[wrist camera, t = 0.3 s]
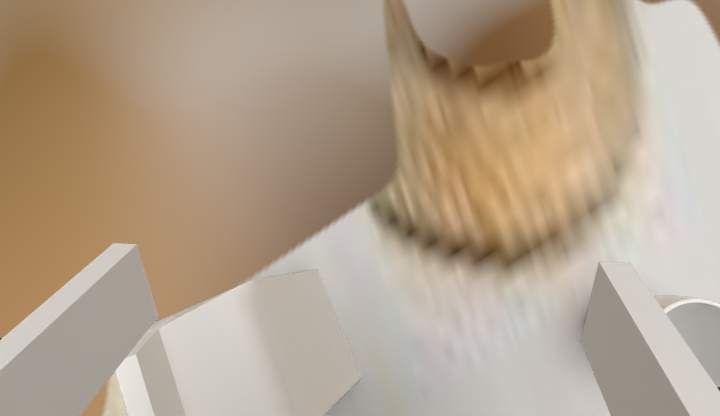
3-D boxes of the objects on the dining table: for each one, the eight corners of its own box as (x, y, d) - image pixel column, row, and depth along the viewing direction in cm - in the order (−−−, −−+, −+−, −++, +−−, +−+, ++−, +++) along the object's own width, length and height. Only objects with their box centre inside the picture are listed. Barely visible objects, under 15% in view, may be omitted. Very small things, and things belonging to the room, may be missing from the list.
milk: (361, 377, 47) (283, 493, 22) (260, 419, 48) (74, 577, 23) (318, 269, 50) (203, 260, 24) (223, 310, 50) (16, 343, 25)
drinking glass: (599, 277, 45) (681, 276, 31) (664, 318, 44) (782, 338, 29) (561, 333, 45) (626, 360, 30) (625, 377, 44) (725, 427, 29)
